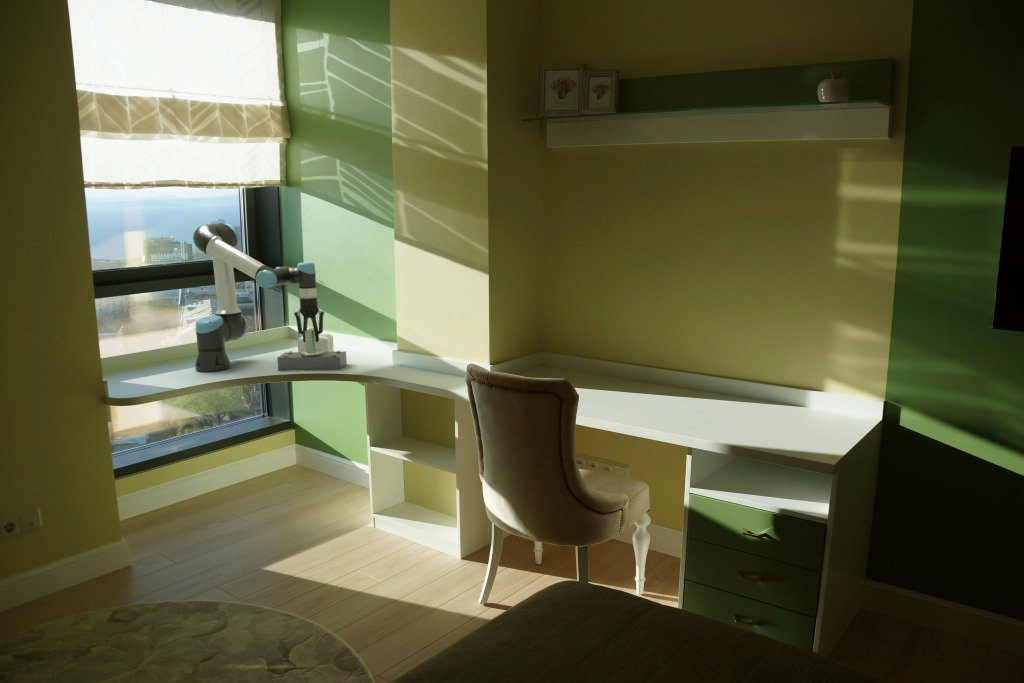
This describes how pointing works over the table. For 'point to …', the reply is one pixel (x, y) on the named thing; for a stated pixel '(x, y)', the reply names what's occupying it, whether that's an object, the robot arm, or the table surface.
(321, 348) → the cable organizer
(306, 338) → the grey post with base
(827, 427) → the table surface
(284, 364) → the block
